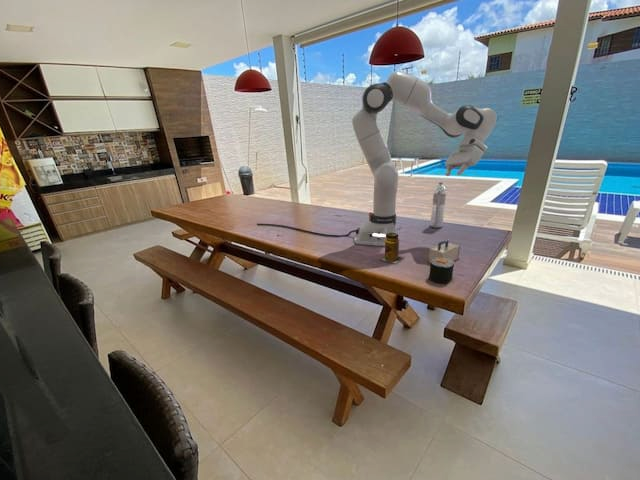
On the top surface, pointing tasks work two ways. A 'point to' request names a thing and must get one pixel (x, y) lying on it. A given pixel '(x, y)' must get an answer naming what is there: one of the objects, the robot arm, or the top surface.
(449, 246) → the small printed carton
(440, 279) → the sushi
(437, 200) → the water bottle
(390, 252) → the condiment
